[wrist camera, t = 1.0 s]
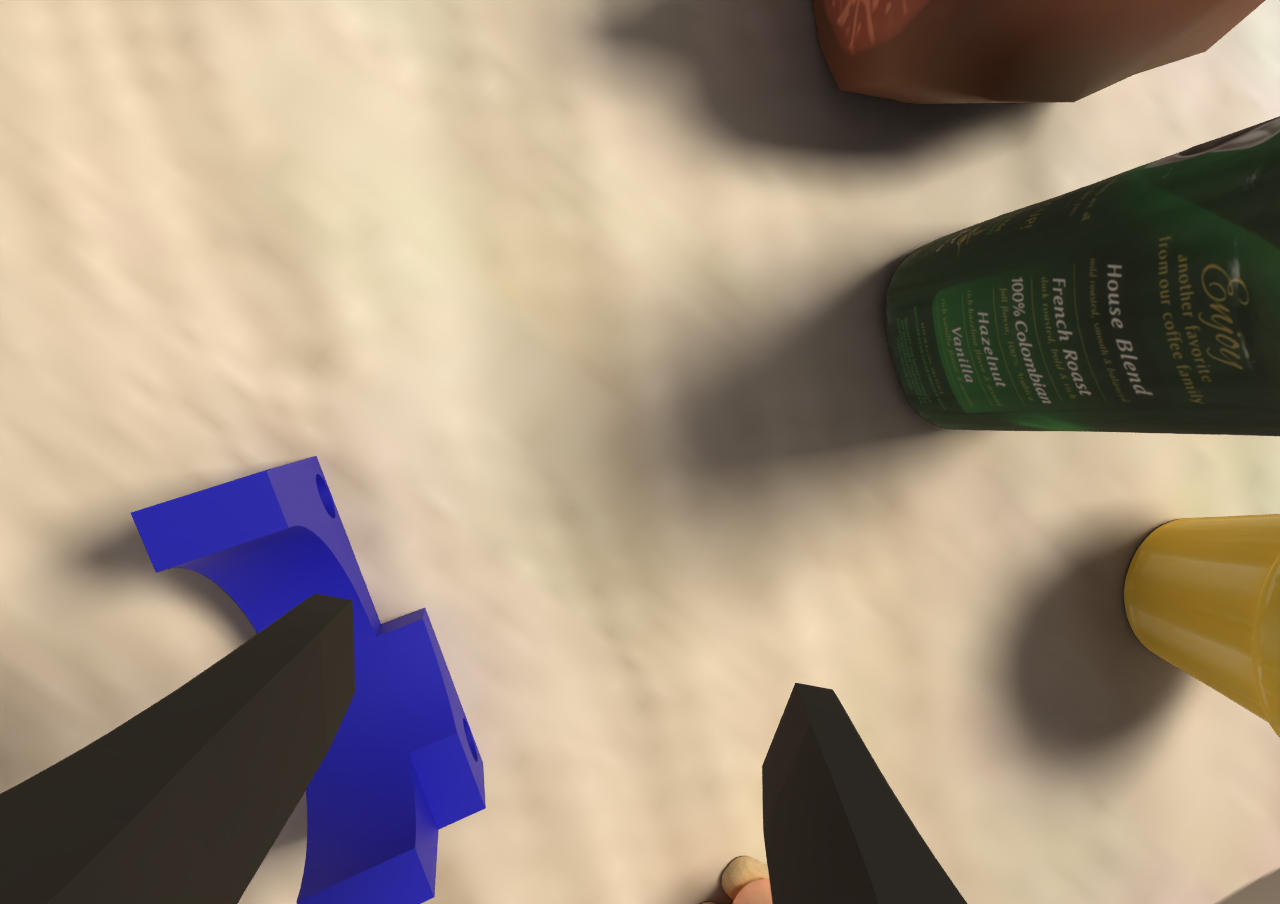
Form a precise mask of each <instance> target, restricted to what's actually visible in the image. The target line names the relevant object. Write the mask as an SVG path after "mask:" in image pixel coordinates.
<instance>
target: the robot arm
mask: <svg viewBox="0 0 1280 904" xmlns="http://www.w3.org/2000/svg"><path fill="white" fill-rule="evenodd" d="M355 691H356V690H355V658H354V625H353V600H348V599H343V598H337V597H332V596H327V595H321V594H316V593H315V594H313V595H312V596H310V597H308V598H307V599H306V600H304V601H303V602H301V603H300V604H298V605H297V606H296V607H294V608H293V609H291V610H290V611H289V612H287V613H286V614H284V615H283V616H282V617H280V618H279V619H277V620H276V621H275V622H273V623H272V624H271V625H269V626H268V627H266V628H265V629H264V630H262V631H261V632H259V633H258V634H257V635H255V636H254V637H252V638H251V639H250V640H248V641H247V642H245V643H244V644H243V645H241V646H240V647H238V648H237V649H236V650H234V651H233V652H231V653H230V654H228V655H227V656H225V657H224V658H223V659H221V660H220V661H218V662H217V663H215V664H214V665H212V666H211V667H209V668H208V669H206V670H205V671H204V672H202V673H201V674H199V675H198V676H196V677H195V678H193V679H192V680H190V681H189V682H187V683H186V684H185V685H183V686H182V687H180V688H179V689H177V690H176V691H174V692H173V693H171V694H169V695H168V696H166V697H165V698H163V699H162V700H160V701H158V702H157V703H155V704H154V705H152V706H151V707H149V708H147V709H146V710H144V711H143V712H141V713H139V714H138V715H136V716H135V717H133V718H132V719H130V720H128V721H127V722H125V723H124V724H122V725H120V726H119V727H117V728H116V729H114V730H113V731H111V732H109V733H108V734H106V735H104V736H103V737H101V738H99V739H98V740H96V741H94V742H93V743H91V744H89V745H88V746H86V747H84V748H82V749H81V750H79V751H77V752H76V753H74V754H72V755H70V756H69V757H67V758H65V759H63V760H62V761H60V762H58V763H56V764H55V765H53V766H51V767H49V768H47V769H46V770H44V771H42V772H40V773H38V774H37V775H35V776H33V777H31V778H29V779H28V780H26V781H24V782H22V783H20V784H18V785H17V786H15V787H13V788H11V789H9V790H7V791H5V792H3V793H1V794H0V904H237V903H238V902H239V900H240V898H241V896H242V895H243V893H244V891H245V890H246V888H247V886H248V885H249V883H250V881H251V880H252V878H253V876H254V875H255V873H256V871H257V870H258V868H259V866H260V865H261V863H262V862H263V860H264V858H265V857H266V855H267V853H268V852H269V850H270V848H271V847H272V845H273V843H274V842H275V840H276V838H277V837H278V835H279V833H280V832H281V830H282V828H283V827H284V825H285V823H286V822H287V820H288V818H289V817H290V815H291V813H292V812H293V810H294V808H295V807H296V805H297V804H298V802H299V800H300V798H301V797H302V795H303V793H304V792H305V790H306V788H307V787H308V785H309V783H310V782H311V780H312V778H313V777H314V775H315V773H316V772H317V770H318V768H319V767H320V765H321V763H322V761H323V760H324V758H325V756H326V755H327V753H328V751H329V749H330V746H331V744H332V742H333V740H334V738H335V736H336V734H337V732H338V729H339V727H340V725H341V723H342V721H343V718H344V716H345V714H346V712H347V709H348V707H349V705H350V703H351V700H352V698H353V696H354V694H355ZM762 783H763V830H764V840H765V849H766V857H767V864H768V872H769V880H770V888H771V896H772V903H773V904H967V902H966V901H965V900H964V898H963V897H962V895H961V894H960V893H959V891H958V890H957V888H956V887H955V885H954V884H953V883H952V881H951V880H950V878H949V877H948V875H947V874H946V872H945V871H944V869H943V868H942V867H941V865H940V864H939V862H938V861H937V859H936V858H935V856H934V855H933V853H932V852H931V850H930V849H929V847H928V846H927V844H926V843H925V841H924V840H923V838H922V837H921V835H920V834H919V832H918V831H917V829H916V827H915V826H914V824H913V823H912V821H911V820H910V818H909V816H908V815H907V813H906V812H905V810H904V808H903V807H902V805H901V804H900V802H899V801H898V799H897V797H896V796H895V794H894V793H893V791H892V789H891V788H890V786H889V784H888V783H887V781H886V779H885V778H884V776H883V775H882V773H881V771H880V769H879V768H878V766H877V764H876V763H875V761H874V759H873V758H872V756H871V754H870V753H869V751H868V749H867V747H866V746H865V744H864V742H863V741H862V739H861V737H860V735H859V734H858V732H857V730H856V728H855V727H854V725H853V723H852V721H851V720H850V718H849V716H848V714H847V713H846V711H845V709H844V708H843V706H842V704H841V702H840V701H839V699H838V697H837V696H836V694H835V693H834V691H833V690H832V689H826V688H821V687H816V686H810V685H805V684H800V683H795V685H794V688H793V690H792V693H791V695H790V698H789V700H788V703H787V705H786V708H785V710H784V713H783V715H782V718H781V720H780V723H779V725H778V728H777V730H776V733H775V735H774V738H773V740H772V743H771V745H770V748H769V750H768V753H767V755H766V758H765V760H764V763H763V765H762Z"/></svg>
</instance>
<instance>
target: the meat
mask: <svg viewBox="0 0 1280 904" xmlns="http://www.w3.org/2000/svg"><path fill="white" fill-rule="evenodd" d="M1264 1H1265V0H813V5H814V12H815V20H816V27H817V34H818V41H819V44H820V47H821V49H822V51H823V53H824V56H825V58H826V60H827V63H828V65H829V67H830V69H831V72H832V74H833V76H834V79H835V81H836V83H837V85H838V88H839V90H845V91H850V92H855V93H860V94H865V95H870V96H875V97H880V98H885V99H890V100H895V101H901V102H906V103H911V104H942V103H1036V102H1075V101H1077V100H1079V99H1082V98H1084V97H1086V96H1088V95H1090V94H1093V93H1095V92H1097V91H1099V90H1101V89H1103V88H1106V87H1108V86H1110V85H1112V84H1114V83H1117V82H1119V81H1121V80H1123V79H1125V78H1127V77H1130V76H1132V75H1134V74H1137V73H1140V72H1144V71H1147V70H1150V69H1153V68H1156V67H1159V66H1162V65H1165V64H1168V63H1171V62H1174V61H1178V60H1181V59H1184V58H1187V57H1190V56H1193V55H1196V54H1199V53H1202V52H1205V51H1207V50H1208V49H1209V48H1210V47H1211V46H1212V45H1214V44H1215V43H1216V42H1217V41H1218V40H1219V39H1221V38H1222V37H1223V36H1224V35H1225V34H1226V33H1228V32H1229V31H1230V30H1231V29H1232V28H1233V27H1235V26H1236V25H1237V24H1238V23H1239V22H1240V21H1242V20H1243V19H1244V18H1245V17H1246V16H1248V15H1249V14H1250V13H1251V12H1252V11H1253V10H1255V9H1256V8H1257V7H1258V6H1259V5H1260V4H1262V3H1263V2H1264Z"/></svg>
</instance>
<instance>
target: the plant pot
mask: <svg viewBox="0 0 1280 904" xmlns="http://www.w3.org/2000/svg"><path fill="white" fill-rule="evenodd" d="M1124 604H1125V610H1126V615H1127V618H1128V621H1129V624H1130V626H1131V628H1132V630H1133V632H1134V634H1135V635H1136V637H1137V638H1138V639H1139V641H1140V642H1141V643H1142V644H1143V645H1144V646H1145V647H1146V648H1147V649H1148V650H1150V651H1151V652H1152V653H1154V654H1155V655H1157V656H1159V657H1160V658H1162V659H1164V660H1165V661H1167V662H1169V663H1171V664H1172V665H1174V666H1176V667H1178V668H1179V669H1181V670H1183V671H1184V672H1186V673H1188V674H1189V675H1191V676H1193V677H1194V678H1196V679H1198V680H1199V681H1201V682H1203V683H1204V684H1206V685H1208V686H1209V687H1211V688H1213V689H1214V690H1216V691H1218V692H1219V693H1221V694H1223V695H1224V696H1226V697H1228V698H1229V699H1231V700H1232V701H1234V702H1236V703H1237V704H1239V705H1241V706H1242V707H1244V708H1246V709H1247V710H1249V711H1251V712H1252V713H1254V714H1255V715H1257V716H1259V717H1260V718H1262V719H1264V720H1265V721H1267V722H1269V723H1270V725H1271V727H1272V728H1273V730H1274V731H1275V733H1276V734H1277V735H1278V736H1279V737H1280V514H1269V515H1248V516H1228V517H1204V518H1183V519H1178V520H1174V521H1171V522H1168V523H1166V524H1164V525H1162V526H1160V527H1159V528H1157V529H1156V530H1154V531H1153V532H1152V533H1151V534H1150V535H1149V536H1148V537H1147V538H1146V539H1145V540H1144V541H1143V542H1142V544H1141V545H1140V546H1139V548H1138V549H1137V551H1136V553H1135V555H1134V556H1133V558H1132V561H1131V563H1130V566H1129V569H1128V572H1127V575H1126V579H1125V585H1124Z"/></svg>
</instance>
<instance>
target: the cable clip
mask: <svg viewBox="0 0 1280 904" xmlns="http://www.w3.org/2000/svg"><path fill="white" fill-rule="evenodd" d="M131 515H132V517H133V520H134V522H135V524H136V527H137V529H138V531H139V534H140V536H141V539H142V541H143V543H144V546H145V548H146V550H147V553H148V555H149V557H150V560H151V562H152V564H153V567H154V569H155V571H156V572H159V571H162V570H165V569H169V568H185V569H189V570H192V571H195V572H198V573H200V574H202V575H204V576H206V577H207V578H209V579H210V580H212V581H213V582H215V583H216V584H217V585H218V586H220V587H221V588H222V589H223V590H224V591H225V592H226V593H227V594H228V595H229V596H230V597H231V598H232V599H233V600H234V601H235V602H236V603H237V605H238V606H239V607H240V608H241V610H242V611H243V612H244V614H245V615H246V616H247V618H248V619H249V621H250V622H251V624H252V625H253V627H254V628H255V630H256V632H257V633H259V632H261V631H262V630H264V629H265V628H266V627H268V626H269V625H271V624H272V623H273V622H275V621H276V620H277V619H279V618H280V617H282V616H283V615H284V614H286V613H287V612H289V611H290V610H291V609H293V608H294V607H296V606H297V605H298V604H300V603H301V602H303V601H304V600H306V599H307V598H308V597H310V596H312V595H313V594H315V593H316V594H321V595H327V596H332V597H337V598H343V599H348V600H353V625H354V658H355V690H356V691H355V694H354V696H353V698H352V700H351V703H350V705H349V707H348V709H347V712H346V714H345V716H344V718H343V721H342V723H341V725H340V727H339V729H338V732H337V734H336V736H335V738H334V740H333V742H332V744H331V746H330V749H329V751H328V753H327V755H326V756H325V758H324V760H323V761H322V763H321V765H320V767H319V768H318V770H317V772H316V773H315V775H314V777H313V778H312V780H311V782H310V783H309V785H308V787H307V788H306V797H307V819H308V830H307V850H306V860H305V867H304V874H303V879H302V884H301V888H300V892H299V895H298V898H297V904H421V903H423V902H425V901H427V900H429V899H431V898H433V897H434V895H435V878H436V860H437V843H438V829H441V828H443V827H445V826H447V825H449V824H452V823H454V822H456V821H458V820H461V819H463V818H465V817H467V816H469V815H472V814H474V813H476V812H478V811H480V810H483V809H485V808H486V806H485V789H484V772H483V762H482V759H481V756H480V754H479V751H478V748H477V746H476V743H475V740H474V738H473V735H472V732H471V730H470V727H469V724H468V722H467V719H466V716H465V713H464V711H463V708H462V705H461V703H460V700H459V697H458V695H457V692H456V689H455V687H454V684H453V681H452V679H451V676H450V673H449V671H448V668H447V665H446V662H445V660H444V657H443V654H442V652H441V649H440V646H439V644H438V641H437V638H436V636H435V633H434V630H433V628H432V625H431V622H430V620H429V617H428V614H427V611H426V609H425V608H423V609H420V610H418V611H415V612H412V613H410V614H407V615H404V616H402V617H399V618H397V619H394V620H391V621H389V622H386V623H383V624H381V623H380V621H379V618H378V615H377V613H376V610H375V608H374V605H373V602H372V600H371V597H370V595H369V592H368V589H367V587H366V584H365V581H364V579H363V576H362V574H361V571H360V568H359V566H358V563H357V561H356V558H355V555H354V553H353V550H352V548H351V545H350V542H349V540H348V537H347V535H346V532H345V529H344V527H343V524H342V522H341V519H340V516H339V514H338V511H337V508H336V506H335V503H334V501H333V498H332V495H331V493H330V490H329V488H328V485H327V482H326V480H325V477H324V475H323V472H322V469H321V467H320V464H319V462H318V459H317V456H315V457H311V458H308V459H304V460H301V461H297V462H294V463H290V464H287V465H283V466H280V467H276V468H272V469H269V470H265V471H262V472H259V473H256V474H253V475H250V476H246V477H243V478H240V479H237V480H234V481H230V482H227V483H224V484H221V485H218V486H214V487H211V488H208V489H205V490H202V491H199V492H195V493H192V494H189V495H186V496H183V497H179V498H176V499H173V500H170V501H167V502H164V503H160V504H157V505H154V506H151V507H148V508H144V509H141V510H138V511H135V512H132V513H131Z"/></svg>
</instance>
